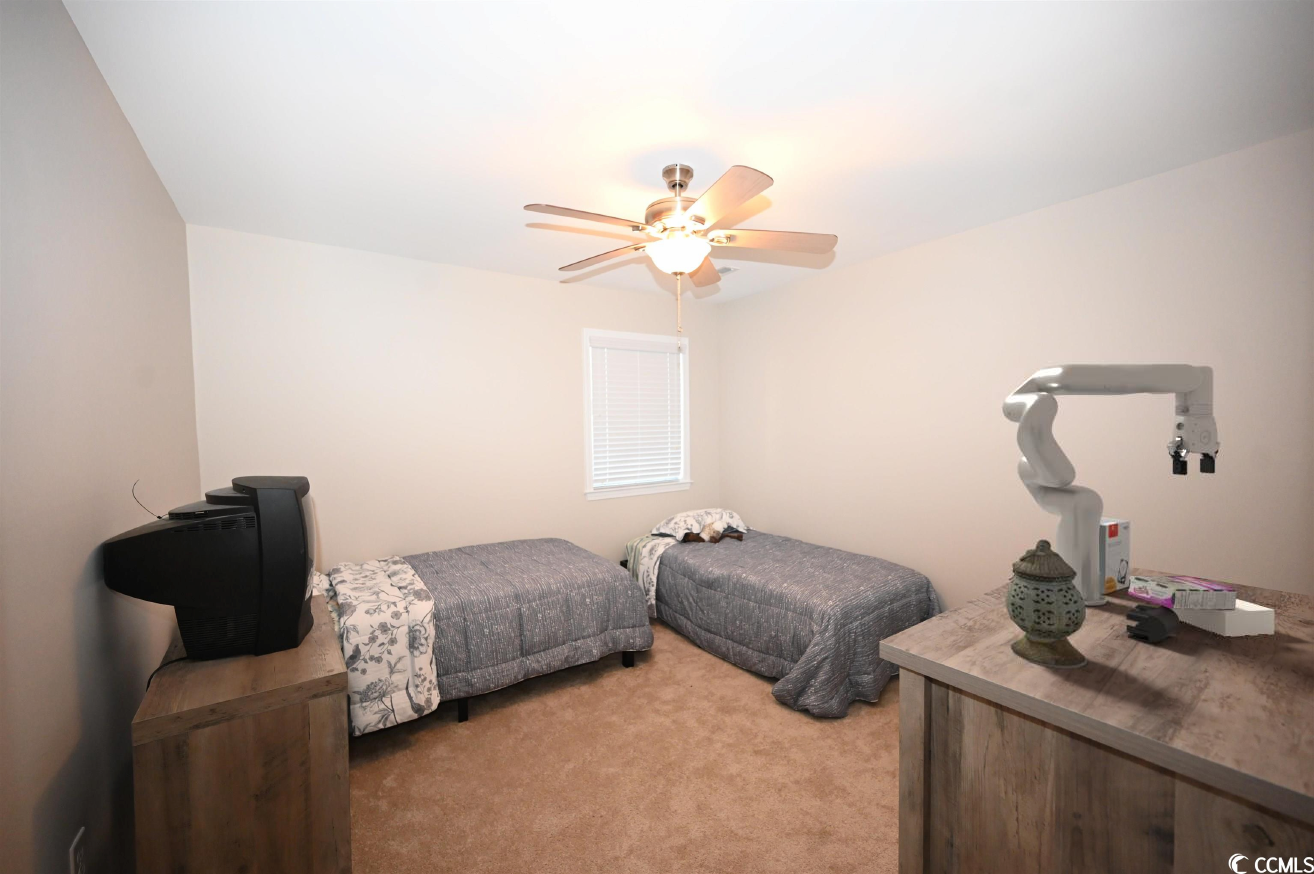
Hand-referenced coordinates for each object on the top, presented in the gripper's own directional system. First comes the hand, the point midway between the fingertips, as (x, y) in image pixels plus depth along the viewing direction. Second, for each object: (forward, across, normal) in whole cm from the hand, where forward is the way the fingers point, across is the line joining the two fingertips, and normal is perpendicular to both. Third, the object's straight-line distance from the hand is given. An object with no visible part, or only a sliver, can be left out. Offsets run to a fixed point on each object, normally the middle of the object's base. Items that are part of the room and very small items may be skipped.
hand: (1193, 473), depth 154 cm
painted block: (+35, -17, -17) cm, 42 cm away
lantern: (+34, -70, -19) cm, 80 cm away
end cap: (+35, -39, -18) cm, 56 cm away
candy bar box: (+26, -19, -16) cm, 36 cm away
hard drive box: (+35, -14, +14) cm, 40 cm away
